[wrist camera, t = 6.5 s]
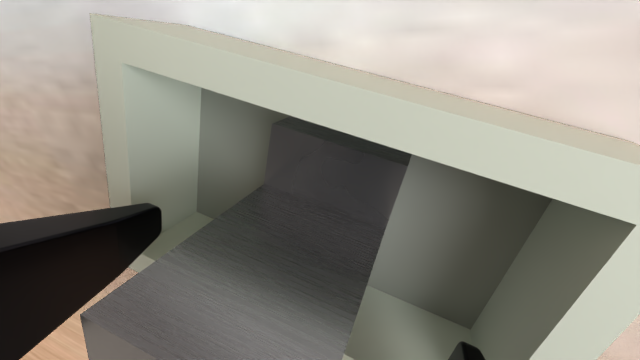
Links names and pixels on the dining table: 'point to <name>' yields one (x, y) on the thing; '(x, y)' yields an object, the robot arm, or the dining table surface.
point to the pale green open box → (413, 198)
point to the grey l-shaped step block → (264, 261)
